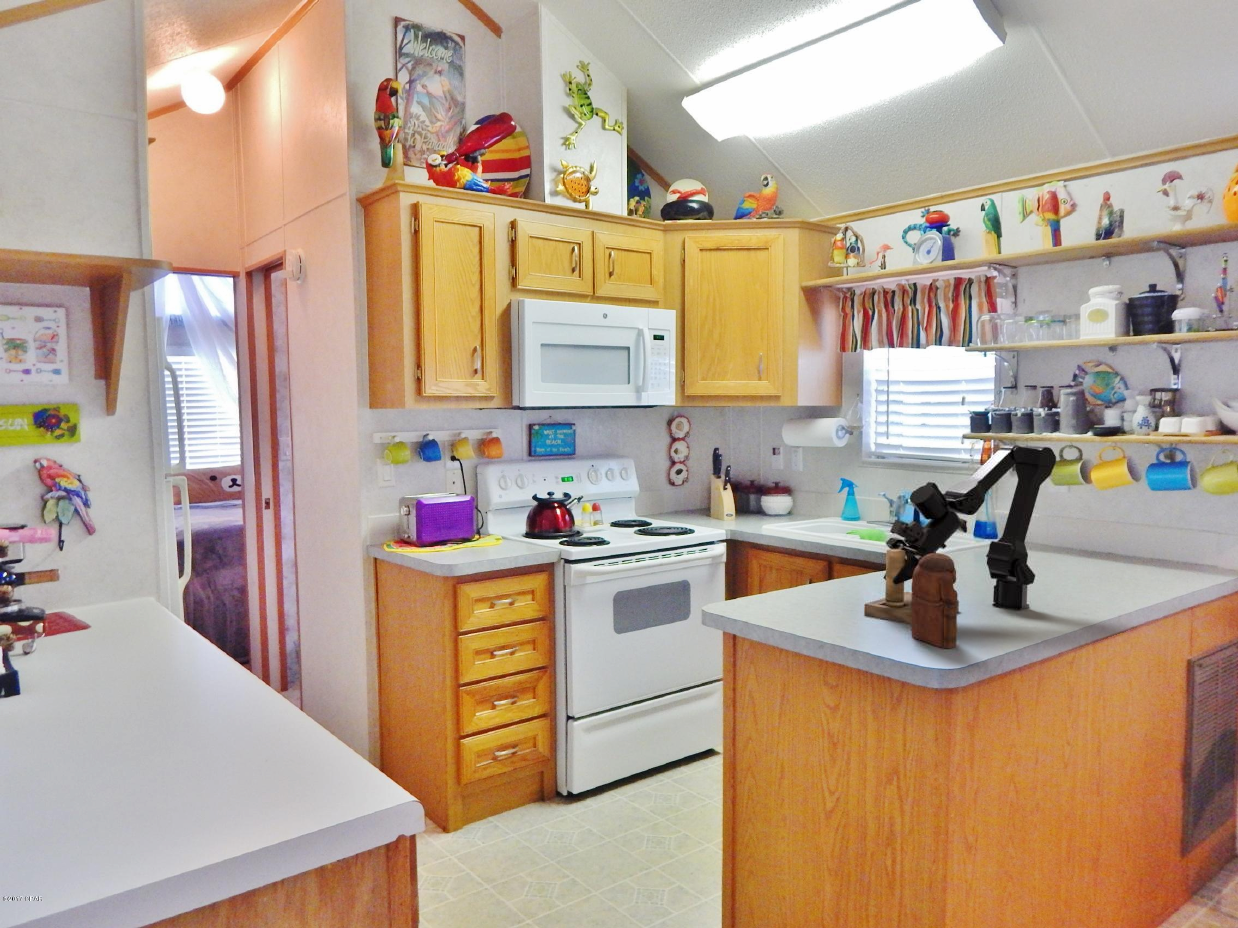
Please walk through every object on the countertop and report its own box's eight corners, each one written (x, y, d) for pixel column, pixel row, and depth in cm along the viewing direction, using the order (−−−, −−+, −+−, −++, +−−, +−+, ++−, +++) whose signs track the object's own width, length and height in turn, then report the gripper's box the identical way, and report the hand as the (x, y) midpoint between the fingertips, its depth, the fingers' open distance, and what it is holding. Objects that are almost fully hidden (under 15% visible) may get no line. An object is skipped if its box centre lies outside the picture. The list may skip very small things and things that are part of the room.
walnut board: (958, 610, 202) (958, 600, 202) (918, 625, 188) (918, 613, 188) (906, 601, 211) (906, 591, 211) (864, 614, 197) (864, 603, 197)
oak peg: (906, 611, 197) (908, 550, 196) (898, 614, 194) (899, 552, 193) (890, 608, 200) (892, 548, 199) (881, 611, 197) (883, 550, 196)
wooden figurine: (968, 647, 171) (971, 557, 170) (942, 650, 168) (945, 559, 167) (926, 632, 182) (929, 548, 181) (902, 635, 179) (905, 549, 178)
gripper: (894, 503, 205) (849, 550, 204) (934, 512, 187) (884, 564, 186) (924, 535, 207) (879, 582, 206) (967, 548, 188) (918, 599, 187)
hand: (889, 581), depth 196 cm, fingers closed on oak peg, 4 cm apart
